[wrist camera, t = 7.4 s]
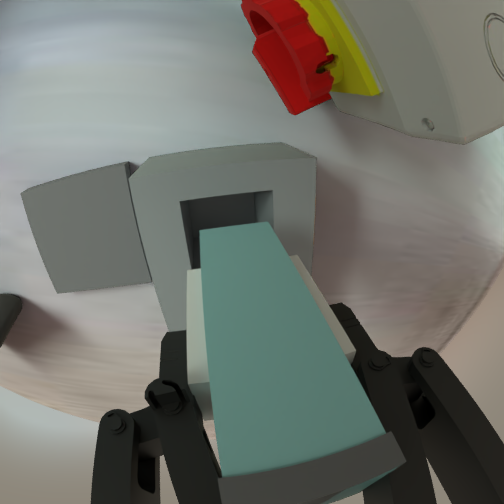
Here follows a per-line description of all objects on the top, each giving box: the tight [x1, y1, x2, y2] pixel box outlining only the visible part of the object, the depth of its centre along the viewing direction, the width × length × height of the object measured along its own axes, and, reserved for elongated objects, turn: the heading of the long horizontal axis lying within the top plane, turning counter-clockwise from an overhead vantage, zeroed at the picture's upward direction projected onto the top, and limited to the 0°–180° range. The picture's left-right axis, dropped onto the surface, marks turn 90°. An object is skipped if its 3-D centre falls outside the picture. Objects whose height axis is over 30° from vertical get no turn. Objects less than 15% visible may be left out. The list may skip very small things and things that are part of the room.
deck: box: [21, 162, 152, 294], centre depth 24 cm, size 12×12×2 cm
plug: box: [199, 222, 407, 504], centre depth 11 cm, size 4×4×14 cm
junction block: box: [129, 143, 316, 332], centre depth 25 cm, size 20×12×8 cm, turn 3°
